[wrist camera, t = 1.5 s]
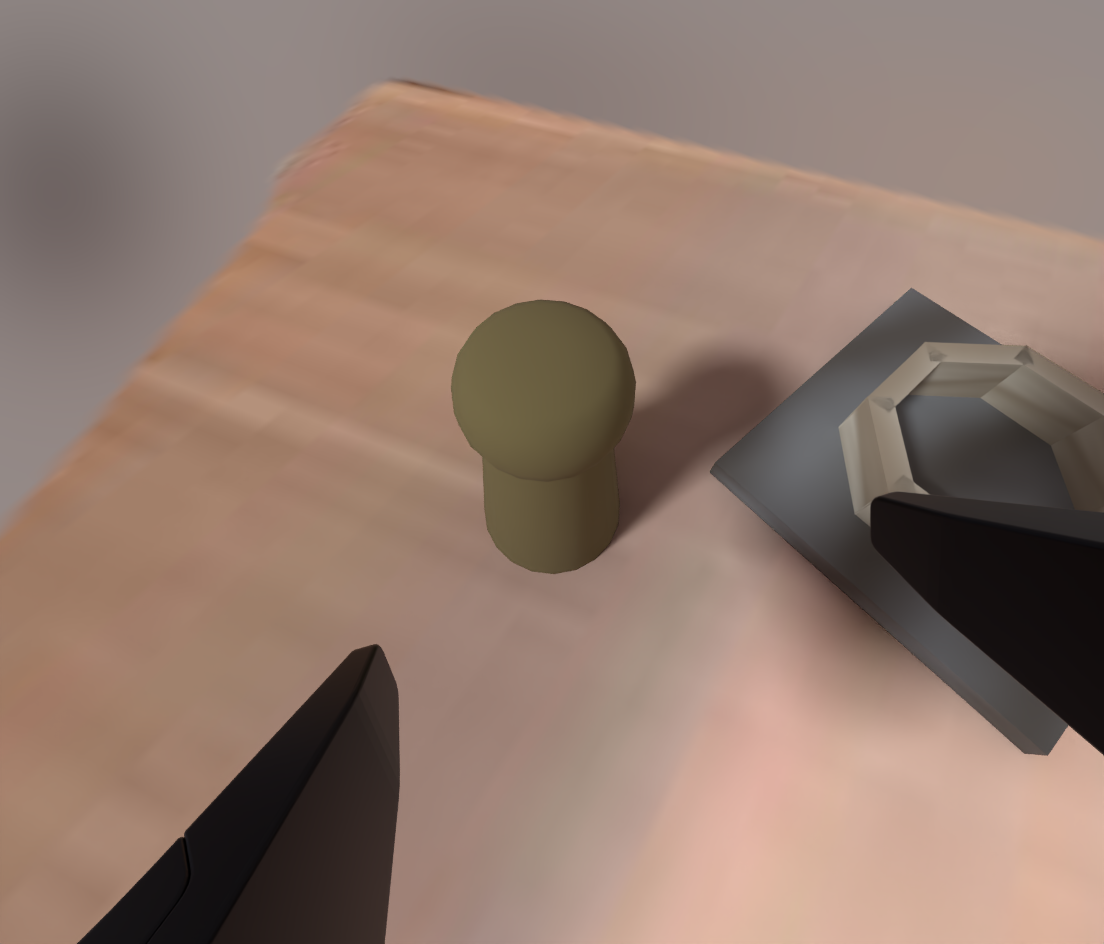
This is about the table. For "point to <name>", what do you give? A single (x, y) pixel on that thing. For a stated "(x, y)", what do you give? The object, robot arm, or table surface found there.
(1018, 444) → the socket
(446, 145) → the table surface
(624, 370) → the cork
